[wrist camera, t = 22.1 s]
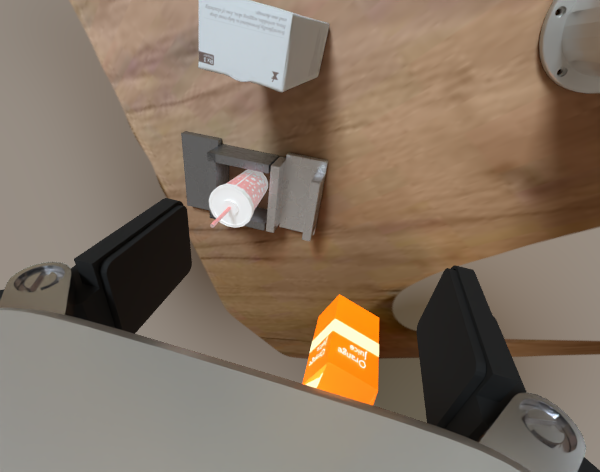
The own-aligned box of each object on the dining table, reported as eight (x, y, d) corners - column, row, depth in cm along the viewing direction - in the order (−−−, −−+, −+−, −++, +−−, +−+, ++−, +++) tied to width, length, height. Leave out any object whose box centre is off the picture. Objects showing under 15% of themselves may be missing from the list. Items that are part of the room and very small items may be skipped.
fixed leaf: (279, 150, 44) (269, 159, 40) (272, 221, 50) (263, 235, 46) (185, 131, 46) (168, 138, 42) (191, 202, 52) (176, 214, 48)
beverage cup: (233, 193, 49) (187, 237, 38) (238, 158, 46) (189, 194, 34) (268, 206, 49) (232, 254, 37) (276, 171, 45) (240, 212, 34)
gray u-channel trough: (328, 160, 43) (321, 173, 38) (315, 231, 49) (308, 249, 45) (280, 150, 43) (269, 162, 39) (274, 222, 50) (263, 238, 46)
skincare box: (330, 23, 35) (301, 8, 22) (318, 80, 38) (286, 95, 26) (261, 5, 35) (196, -19, 23) (255, 63, 39) (194, 69, 26)
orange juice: (355, 338, 60) (345, 449, 43) (317, 316, 59) (292, 420, 43) (380, 317, 56) (378, 431, 39) (339, 293, 55) (320, 398, 38)
